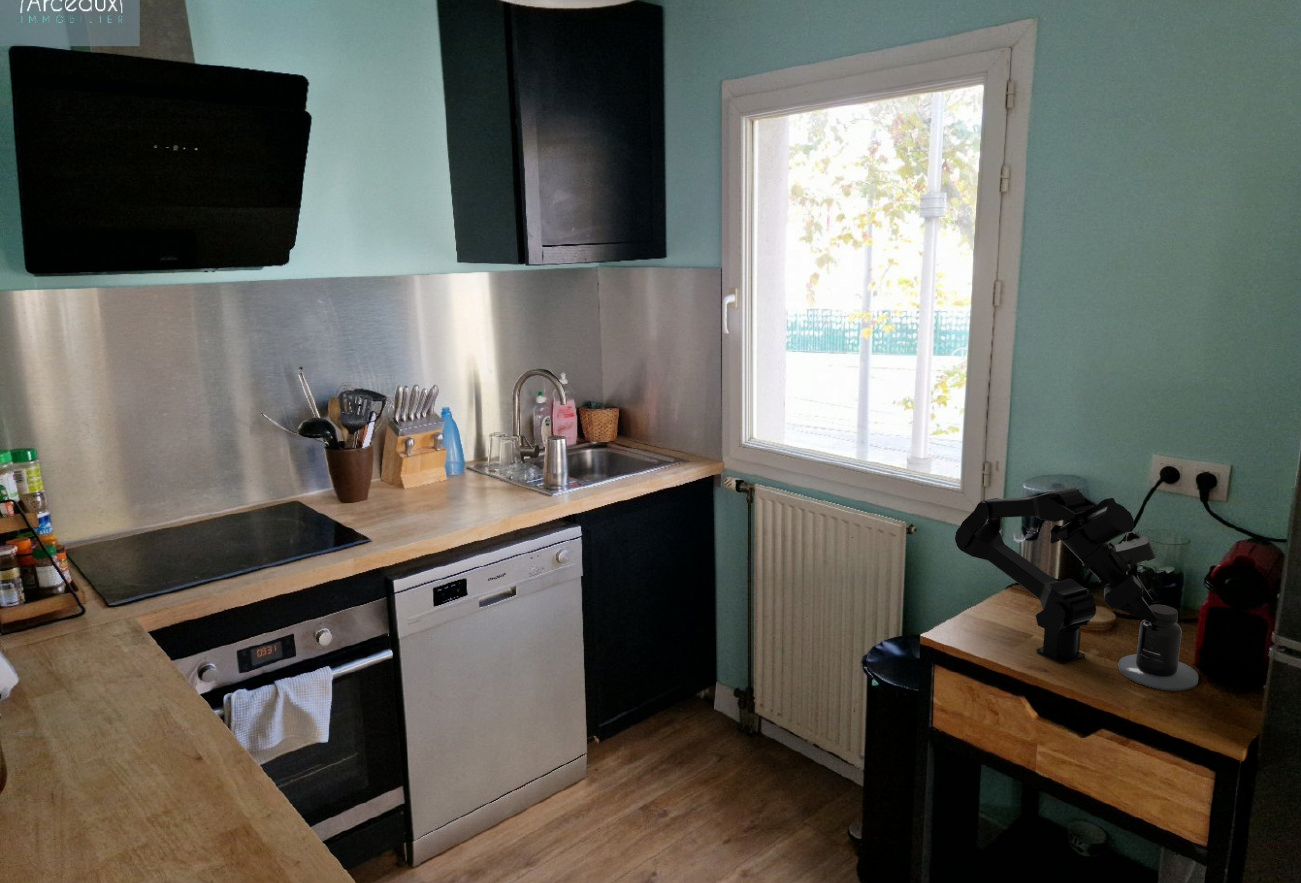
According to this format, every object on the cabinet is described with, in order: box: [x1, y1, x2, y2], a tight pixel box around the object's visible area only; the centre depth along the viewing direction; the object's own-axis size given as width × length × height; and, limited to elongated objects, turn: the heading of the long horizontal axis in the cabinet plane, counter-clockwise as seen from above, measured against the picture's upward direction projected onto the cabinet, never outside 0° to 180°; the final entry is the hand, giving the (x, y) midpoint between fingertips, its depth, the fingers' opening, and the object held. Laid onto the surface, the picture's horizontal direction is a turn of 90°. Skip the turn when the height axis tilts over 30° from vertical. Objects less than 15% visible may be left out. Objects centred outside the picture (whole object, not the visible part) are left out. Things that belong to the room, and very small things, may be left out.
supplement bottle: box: [1136, 604, 1183, 677], centre depth 165 cm, size 7×7×12 cm
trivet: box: [1117, 653, 1199, 692], centre depth 166 cm, size 13×13×1 cm
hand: (1153, 612), depth 165 cm, fingers open, 9 cm apart
